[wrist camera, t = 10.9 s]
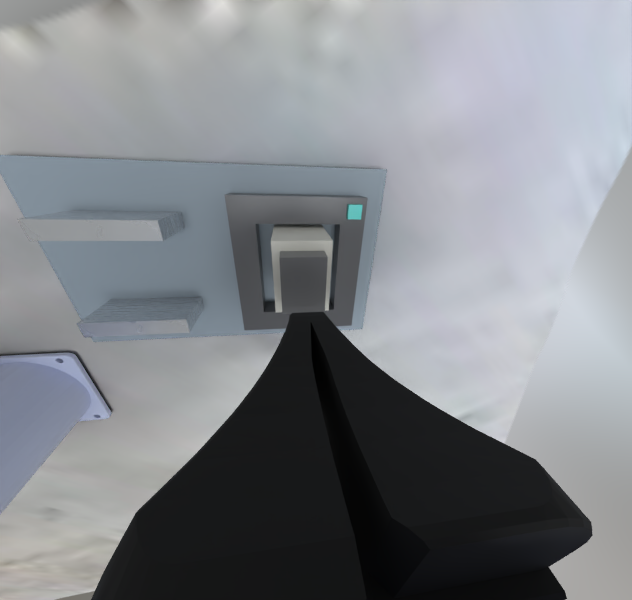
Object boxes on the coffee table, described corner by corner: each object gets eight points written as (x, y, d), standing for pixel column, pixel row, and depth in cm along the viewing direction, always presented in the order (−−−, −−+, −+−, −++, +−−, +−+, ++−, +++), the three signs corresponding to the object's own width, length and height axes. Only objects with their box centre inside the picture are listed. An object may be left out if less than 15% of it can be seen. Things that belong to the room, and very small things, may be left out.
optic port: (247, 318, 18) (243, 332, 16) (230, 192, 14) (223, 195, 12) (346, 315, 19) (352, 327, 17) (360, 195, 15) (369, 198, 13)
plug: (277, 279, 17) (274, 322, 12) (274, 223, 15) (269, 246, 10) (318, 279, 17) (331, 320, 12) (320, 223, 15) (337, 246, 10)
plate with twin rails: (116, 311, 16) (84, 337, 14) (70, 210, 13) (17, 219, 11) (204, 308, 17) (189, 332, 14) (181, 211, 14) (157, 220, 11)
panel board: (102, 333, 18) (93, 341, 17) (10, 155, 12) (-11, 154, 12) (359, 322, 21) (362, 329, 20) (381, 169, 15) (387, 169, 14)
